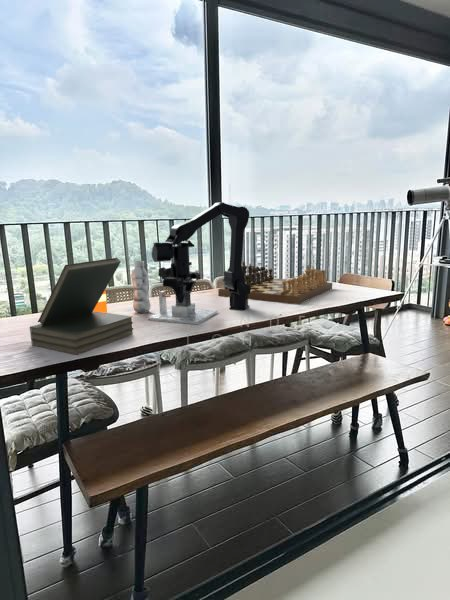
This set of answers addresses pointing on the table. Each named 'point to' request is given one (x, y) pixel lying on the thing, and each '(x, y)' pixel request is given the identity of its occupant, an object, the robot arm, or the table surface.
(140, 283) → the plastic bottle
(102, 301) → the orange juice
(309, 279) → the chess set
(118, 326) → the bible
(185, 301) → the block
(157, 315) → the base
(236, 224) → the robot arm
